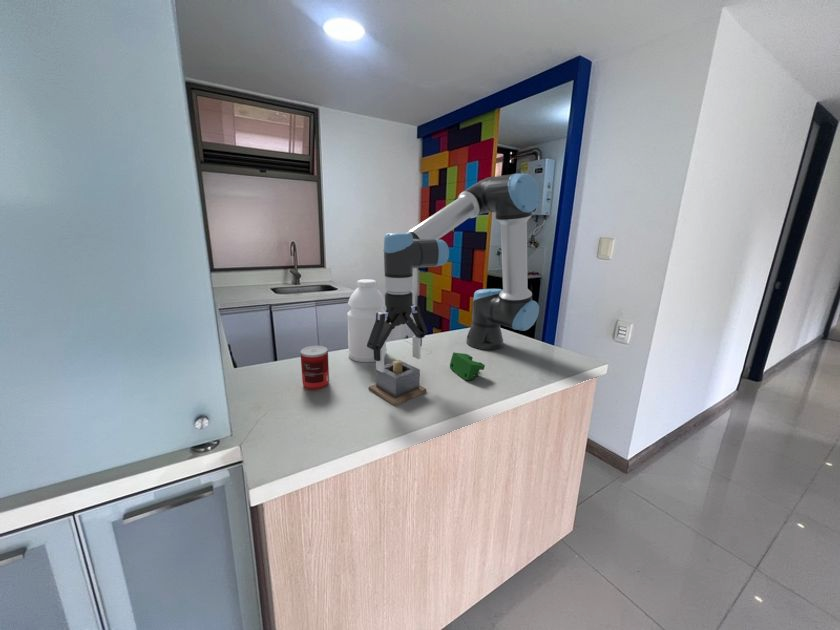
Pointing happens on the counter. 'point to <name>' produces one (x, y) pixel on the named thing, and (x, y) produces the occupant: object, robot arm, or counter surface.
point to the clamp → (465, 366)
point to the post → (395, 401)
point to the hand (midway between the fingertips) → (399, 363)
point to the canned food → (315, 367)
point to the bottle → (363, 319)
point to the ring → (398, 380)
